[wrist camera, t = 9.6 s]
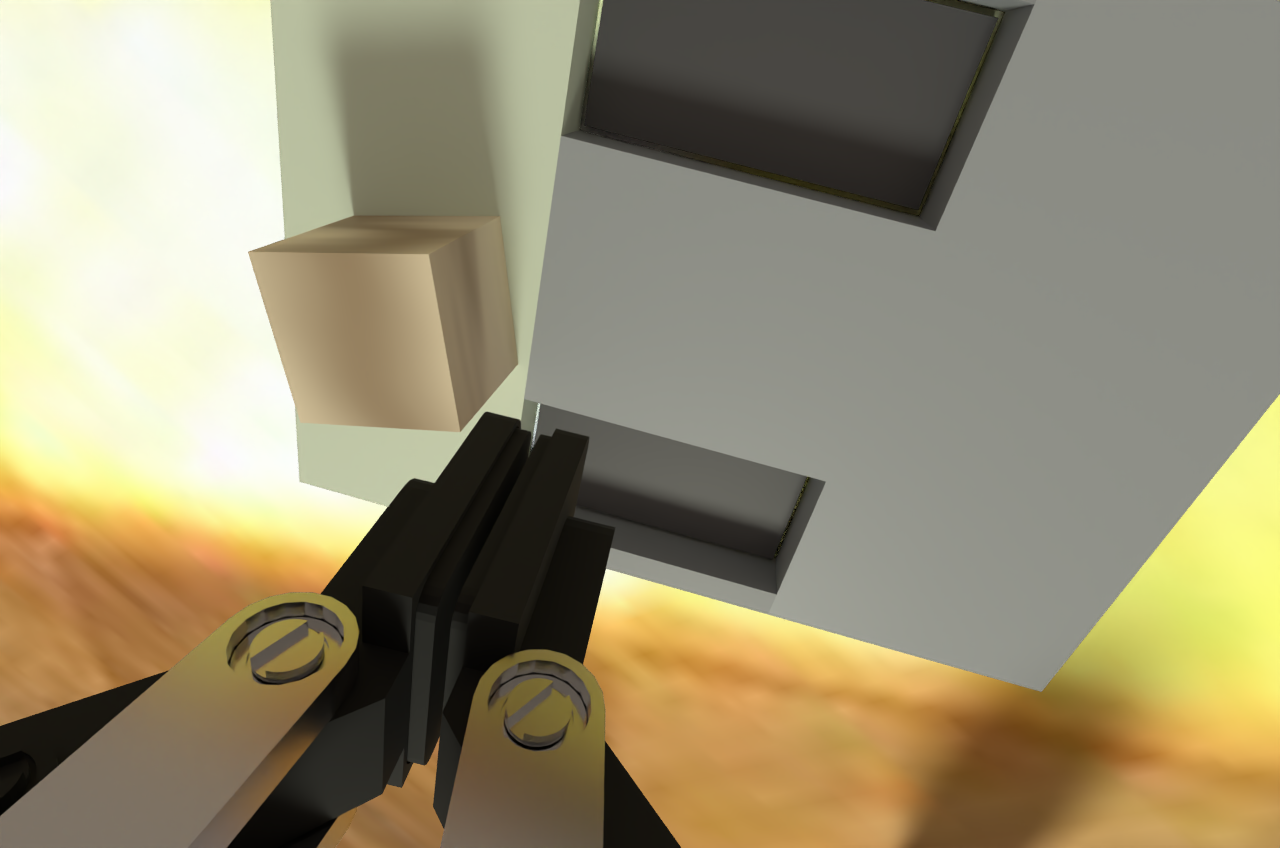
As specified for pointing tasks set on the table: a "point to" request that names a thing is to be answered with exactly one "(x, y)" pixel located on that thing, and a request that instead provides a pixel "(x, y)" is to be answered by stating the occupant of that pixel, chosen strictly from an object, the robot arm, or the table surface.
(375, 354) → the maple cube
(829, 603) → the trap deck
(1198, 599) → the table surface
